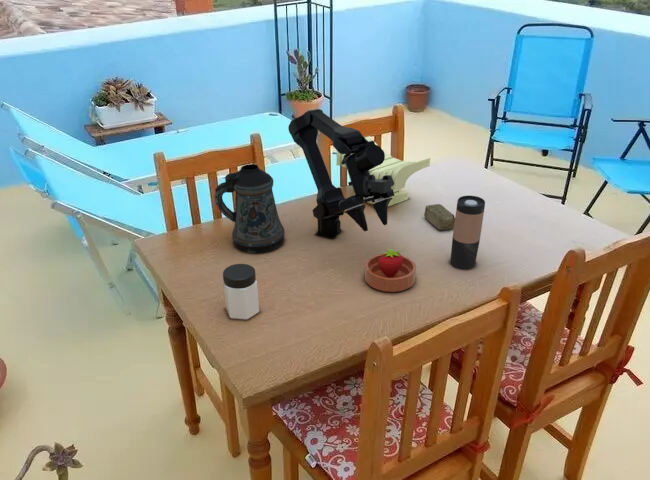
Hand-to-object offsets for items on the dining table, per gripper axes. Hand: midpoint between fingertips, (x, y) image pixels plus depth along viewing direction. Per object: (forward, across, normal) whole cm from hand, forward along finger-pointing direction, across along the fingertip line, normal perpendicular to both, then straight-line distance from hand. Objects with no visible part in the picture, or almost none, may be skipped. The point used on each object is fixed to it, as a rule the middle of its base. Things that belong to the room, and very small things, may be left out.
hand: (376, 227), depth 165 cm
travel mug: (+18, +20, -11) cm, 29 cm away
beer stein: (-7, -12, +39) cm, 41 cm away
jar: (+10, -38, +20) cm, 45 cm away
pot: (+15, -1, 0) cm, 15 cm away
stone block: (+5, +37, +4) cm, 38 cm away
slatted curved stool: (-10, +40, +26) cm, 49 cm away
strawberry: (+15, -2, 0) cm, 15 cm away
